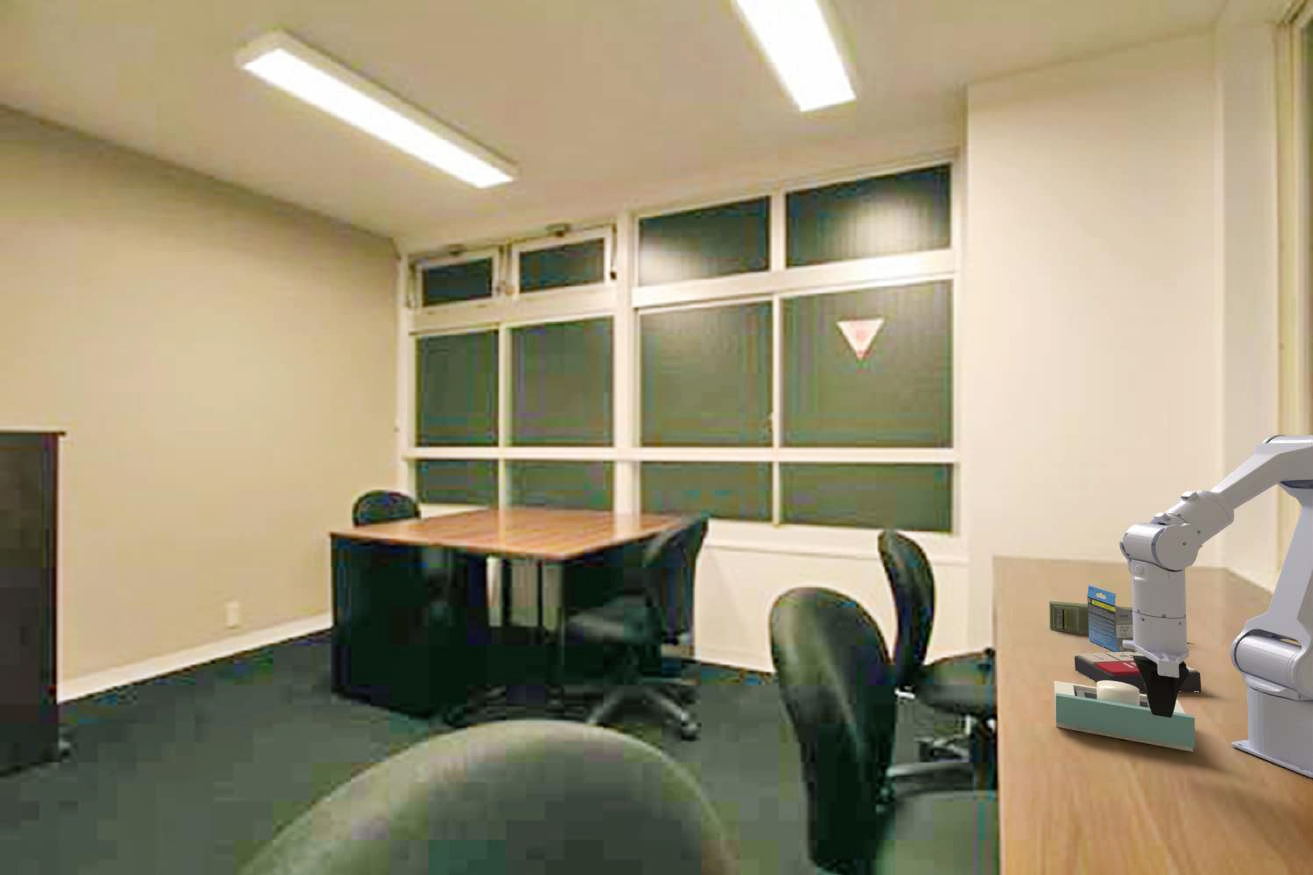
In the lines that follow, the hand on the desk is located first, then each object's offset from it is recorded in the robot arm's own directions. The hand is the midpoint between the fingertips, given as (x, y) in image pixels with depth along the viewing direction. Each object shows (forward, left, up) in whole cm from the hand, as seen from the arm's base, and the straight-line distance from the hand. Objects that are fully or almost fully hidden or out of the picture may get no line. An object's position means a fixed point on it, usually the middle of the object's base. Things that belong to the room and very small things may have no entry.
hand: (1161, 714), depth 86 cm
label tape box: (+41, -39, -6) cm, 57 cm away
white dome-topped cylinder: (+9, -4, -4) cm, 11 cm away
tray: (+9, -4, -5) cm, 11 cm away
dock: (+10, -4, -6) cm, 12 cm away
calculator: (+24, -25, -7) cm, 35 cm away
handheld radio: (+47, -48, -6) cm, 67 cm away
